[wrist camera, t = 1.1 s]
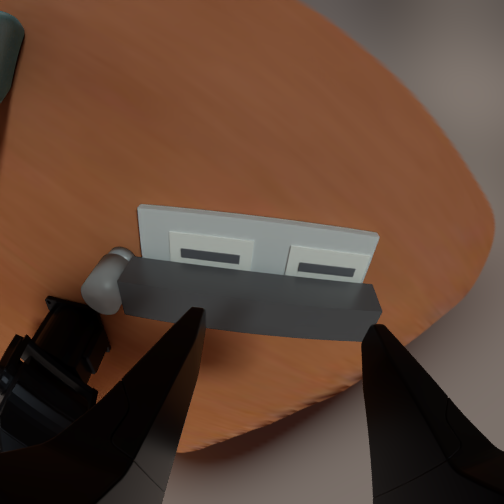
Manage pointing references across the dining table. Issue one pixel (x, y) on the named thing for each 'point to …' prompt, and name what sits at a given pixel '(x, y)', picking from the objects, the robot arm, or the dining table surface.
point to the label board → (253, 243)
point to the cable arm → (233, 298)
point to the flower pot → (8, 50)
